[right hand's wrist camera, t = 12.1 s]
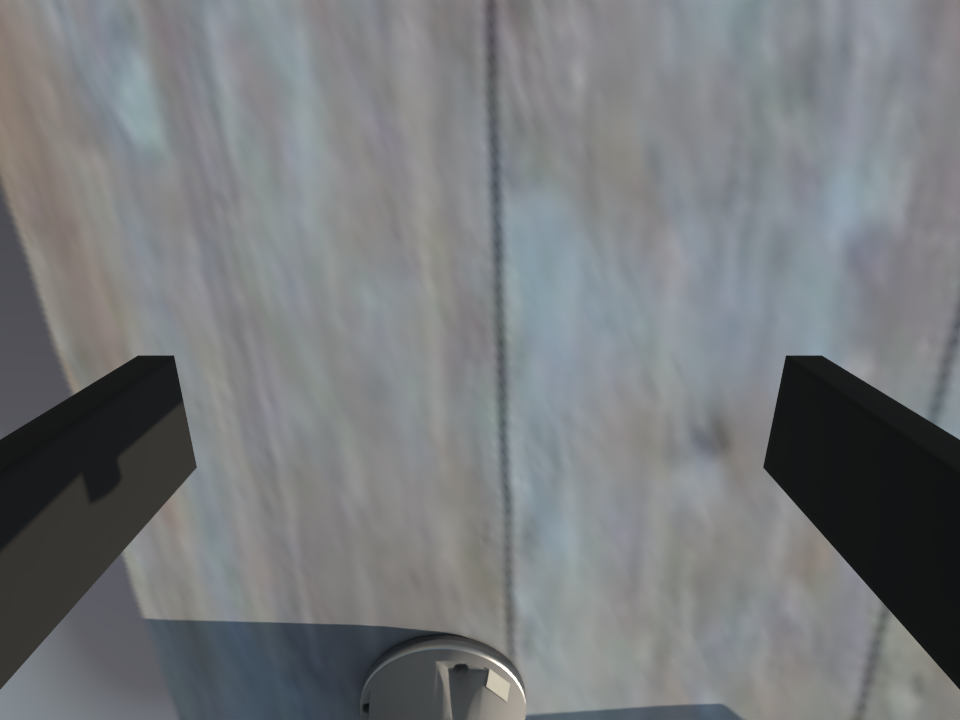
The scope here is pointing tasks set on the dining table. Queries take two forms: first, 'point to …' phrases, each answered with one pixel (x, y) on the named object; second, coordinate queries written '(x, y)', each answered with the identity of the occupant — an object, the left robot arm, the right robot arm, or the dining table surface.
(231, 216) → the dining table surface
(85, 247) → the dining table surface
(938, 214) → the dining table surface
